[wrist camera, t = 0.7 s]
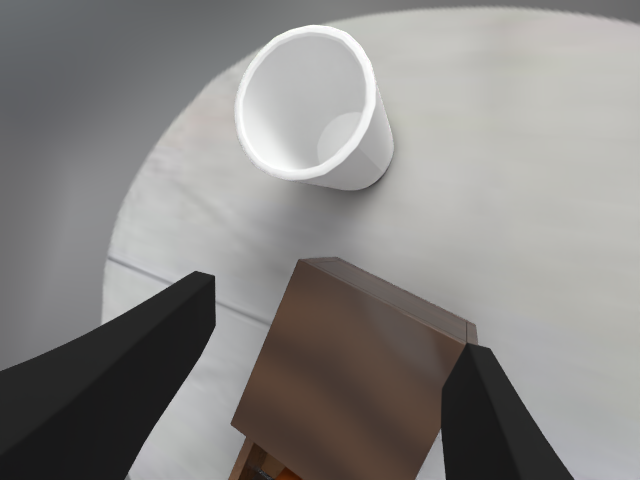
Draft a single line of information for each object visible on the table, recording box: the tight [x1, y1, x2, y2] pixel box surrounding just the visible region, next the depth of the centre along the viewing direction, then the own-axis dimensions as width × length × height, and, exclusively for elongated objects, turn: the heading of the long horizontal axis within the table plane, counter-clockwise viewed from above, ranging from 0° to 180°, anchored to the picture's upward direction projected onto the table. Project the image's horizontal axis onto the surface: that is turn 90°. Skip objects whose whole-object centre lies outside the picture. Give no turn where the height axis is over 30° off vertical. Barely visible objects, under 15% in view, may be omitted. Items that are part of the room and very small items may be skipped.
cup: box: [234, 25, 394, 191], centre depth 29 cm, size 10×10×13 cm
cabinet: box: [231, 257, 478, 480], centre depth 30 cm, size 15×14×9 cm
